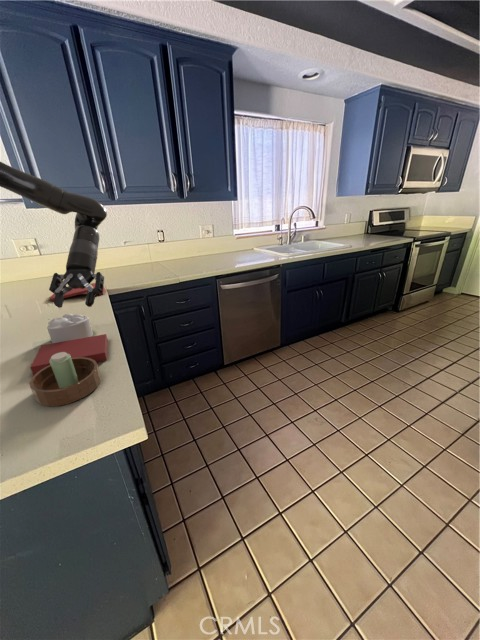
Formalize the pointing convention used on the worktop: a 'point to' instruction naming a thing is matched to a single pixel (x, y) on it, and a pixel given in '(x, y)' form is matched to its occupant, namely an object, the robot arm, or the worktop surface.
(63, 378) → the pepper shaker
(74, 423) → the worktop surface
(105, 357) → the book
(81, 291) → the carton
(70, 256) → the robot arm
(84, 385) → the bowl
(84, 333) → the lumpy-topped squat cylinder
